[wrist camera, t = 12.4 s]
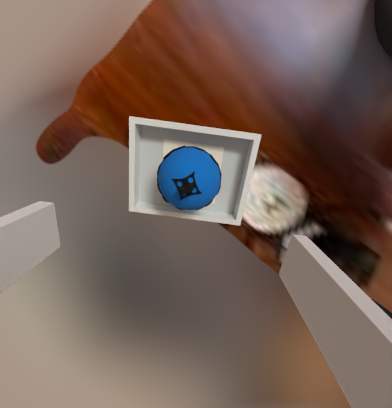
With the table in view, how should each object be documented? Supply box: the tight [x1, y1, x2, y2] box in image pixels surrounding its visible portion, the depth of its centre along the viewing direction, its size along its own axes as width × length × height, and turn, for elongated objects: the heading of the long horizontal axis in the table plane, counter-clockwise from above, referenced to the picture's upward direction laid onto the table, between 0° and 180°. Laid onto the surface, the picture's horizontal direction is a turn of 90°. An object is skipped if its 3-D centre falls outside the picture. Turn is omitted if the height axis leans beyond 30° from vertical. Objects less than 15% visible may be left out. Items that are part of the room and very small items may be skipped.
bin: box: [129, 116, 261, 226], centre depth 28 cm, size 14×18×3 cm
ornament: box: [157, 145, 222, 210], centre depth 24 cm, size 9×9×10 cm
